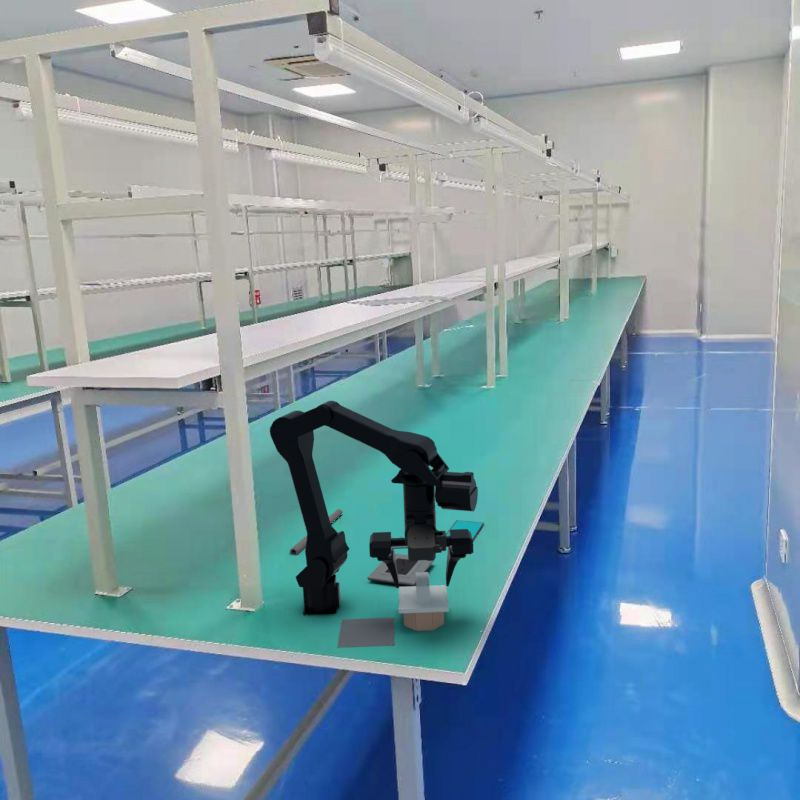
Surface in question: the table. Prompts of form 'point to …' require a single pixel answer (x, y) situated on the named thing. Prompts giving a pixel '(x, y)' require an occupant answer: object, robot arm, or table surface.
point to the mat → (366, 632)
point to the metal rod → (302, 543)
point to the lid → (423, 596)
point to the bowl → (423, 620)
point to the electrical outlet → (400, 571)
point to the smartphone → (468, 527)
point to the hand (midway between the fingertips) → (422, 586)
